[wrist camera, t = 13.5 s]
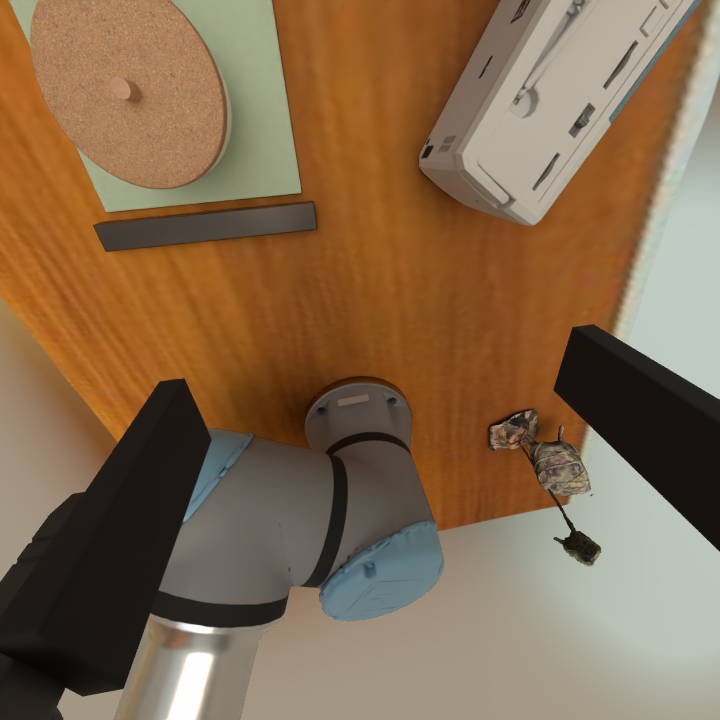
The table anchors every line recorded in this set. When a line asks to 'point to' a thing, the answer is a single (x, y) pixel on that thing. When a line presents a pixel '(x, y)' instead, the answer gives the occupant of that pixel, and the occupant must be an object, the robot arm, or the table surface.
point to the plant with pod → (550, 473)
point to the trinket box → (133, 88)
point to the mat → (249, 111)
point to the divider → (206, 226)
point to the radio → (543, 98)
